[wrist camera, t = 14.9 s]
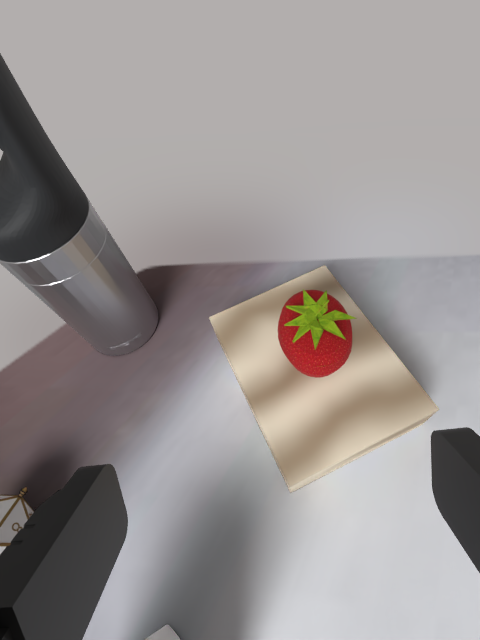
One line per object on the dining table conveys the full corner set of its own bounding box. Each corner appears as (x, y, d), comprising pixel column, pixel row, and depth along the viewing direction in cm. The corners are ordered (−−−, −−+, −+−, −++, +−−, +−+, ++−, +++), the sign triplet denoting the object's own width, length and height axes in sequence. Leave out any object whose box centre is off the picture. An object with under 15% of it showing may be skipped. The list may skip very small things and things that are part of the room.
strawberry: (334, 321, 35) (345, 252, 26) (354, 393, 31) (375, 339, 22) (275, 330, 35) (267, 265, 27) (287, 402, 31) (283, 353, 23)
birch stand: (218, 339, 41) (208, 317, 37) (322, 291, 43) (324, 265, 38) (290, 493, 32) (289, 486, 28) (421, 425, 33) (439, 409, 29)
